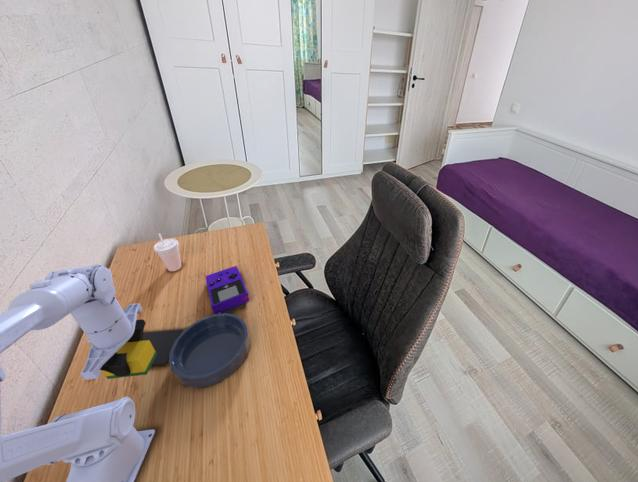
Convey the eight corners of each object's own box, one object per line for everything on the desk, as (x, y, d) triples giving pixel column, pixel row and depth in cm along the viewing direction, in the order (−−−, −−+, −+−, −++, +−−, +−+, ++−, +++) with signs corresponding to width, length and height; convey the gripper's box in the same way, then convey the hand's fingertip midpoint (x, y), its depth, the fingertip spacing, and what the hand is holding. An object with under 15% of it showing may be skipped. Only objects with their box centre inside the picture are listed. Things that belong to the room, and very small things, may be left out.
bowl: (241, 384, 64) (237, 373, 61) (161, 394, 61) (154, 383, 59) (256, 321, 78) (253, 310, 75) (191, 327, 75) (186, 316, 73)
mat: (166, 364, 66) (166, 363, 66) (119, 369, 65) (118, 368, 65) (183, 330, 74) (182, 329, 74) (140, 334, 73) (139, 332, 72)
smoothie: (164, 263, 94) (150, 229, 87) (187, 258, 97) (175, 225, 90) (161, 276, 89) (146, 241, 82) (185, 271, 92) (172, 237, 85)
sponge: (146, 374, 58) (137, 360, 55) (107, 379, 57) (96, 365, 54) (157, 353, 62) (149, 339, 59) (120, 357, 60) (111, 343, 58)
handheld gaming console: (236, 264, 91) (247, 291, 80) (239, 277, 93) (250, 305, 82) (204, 275, 86) (210, 305, 75) (208, 288, 88) (215, 319, 77)
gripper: (104, 290, 57) (129, 332, 64) (44, 361, 45) (84, 403, 52) (143, 287, 58) (163, 329, 65) (95, 356, 46) (127, 398, 53)
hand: (131, 361), depth 58 cm, fingers closed on sponge, 4 cm apart
